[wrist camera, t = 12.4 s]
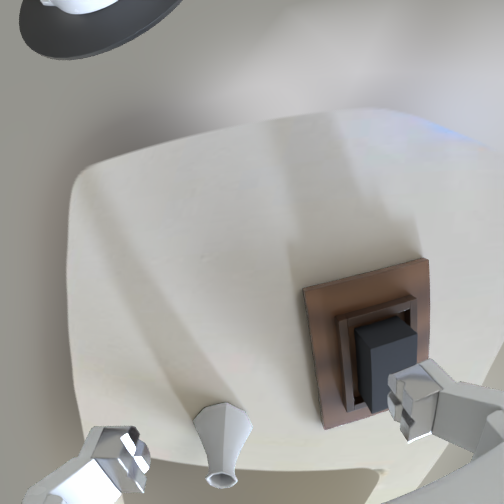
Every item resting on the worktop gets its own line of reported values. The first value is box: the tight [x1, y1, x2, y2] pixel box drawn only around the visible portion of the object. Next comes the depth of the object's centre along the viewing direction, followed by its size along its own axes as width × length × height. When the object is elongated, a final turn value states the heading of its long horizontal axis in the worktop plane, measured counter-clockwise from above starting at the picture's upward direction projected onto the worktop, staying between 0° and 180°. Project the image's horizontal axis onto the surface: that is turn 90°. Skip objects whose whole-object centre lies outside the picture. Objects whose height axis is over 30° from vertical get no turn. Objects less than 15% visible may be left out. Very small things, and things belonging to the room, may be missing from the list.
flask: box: [193, 402, 253, 489], centre depth 32 cm, size 7×7×10 cm
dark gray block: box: [354, 316, 418, 414], centre depth 32 cm, size 9×6×5 cm, turn 12°
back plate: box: [303, 258, 430, 430], centre depth 34 cm, size 20×15×3 cm
